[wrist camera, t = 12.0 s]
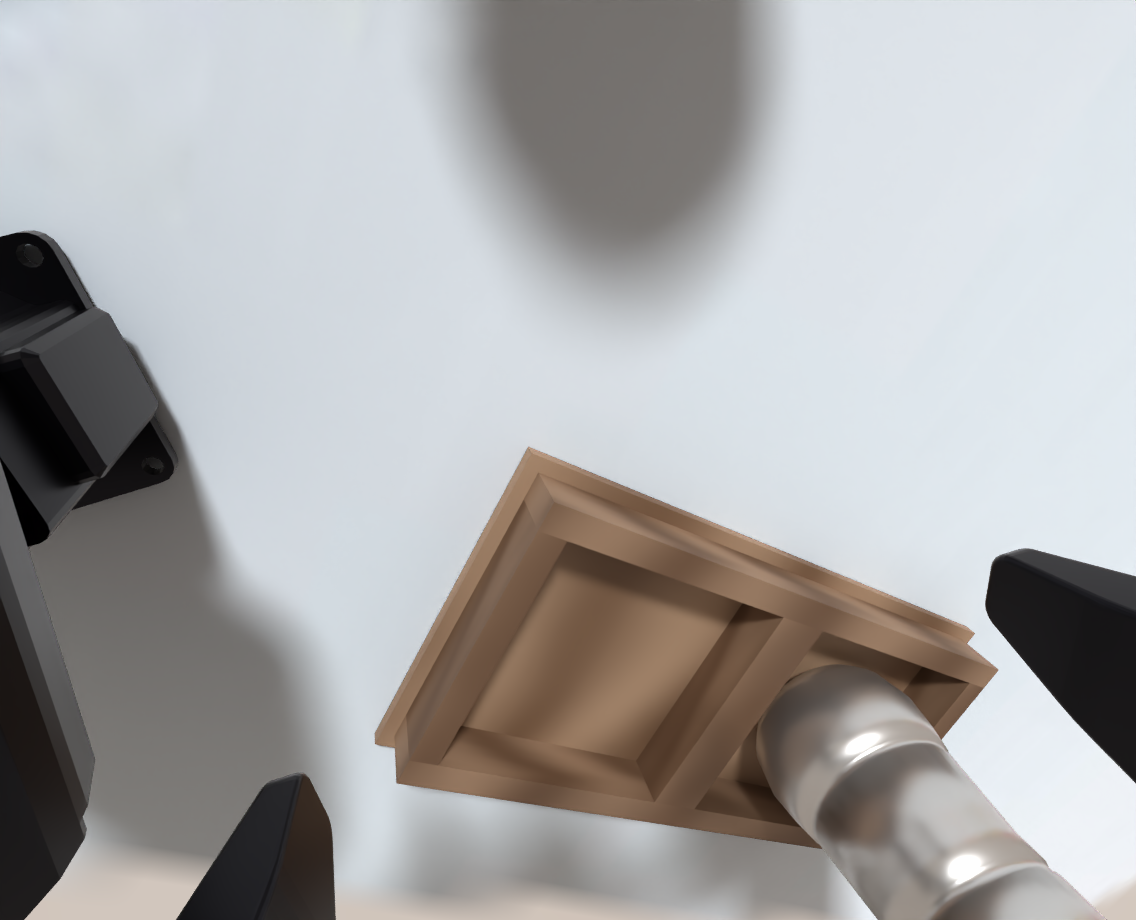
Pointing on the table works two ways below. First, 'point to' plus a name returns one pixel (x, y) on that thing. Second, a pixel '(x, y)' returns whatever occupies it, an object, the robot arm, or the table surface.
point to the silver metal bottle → (899, 806)
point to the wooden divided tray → (642, 659)
